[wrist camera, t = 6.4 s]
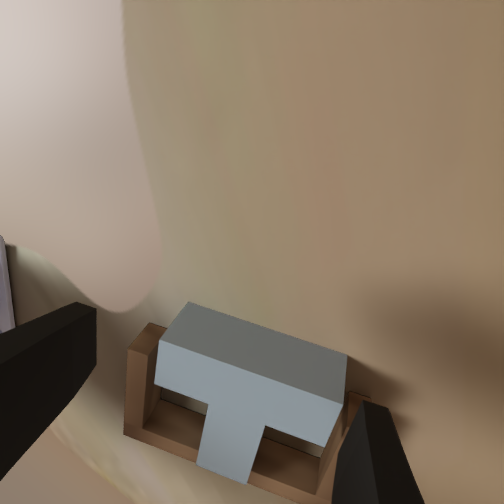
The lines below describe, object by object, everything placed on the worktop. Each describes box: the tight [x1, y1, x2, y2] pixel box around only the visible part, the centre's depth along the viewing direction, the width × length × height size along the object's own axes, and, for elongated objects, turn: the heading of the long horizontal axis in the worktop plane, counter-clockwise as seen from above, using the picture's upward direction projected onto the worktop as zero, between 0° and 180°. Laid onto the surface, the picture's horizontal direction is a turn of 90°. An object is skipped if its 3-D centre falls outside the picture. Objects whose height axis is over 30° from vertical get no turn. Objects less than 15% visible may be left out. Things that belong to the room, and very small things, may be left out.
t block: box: [154, 302, 347, 485], centre depth 22 cm, size 9×8×4 cm
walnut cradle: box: [123, 323, 371, 504], centre depth 23 cm, size 13×7×2 cm, turn 79°
